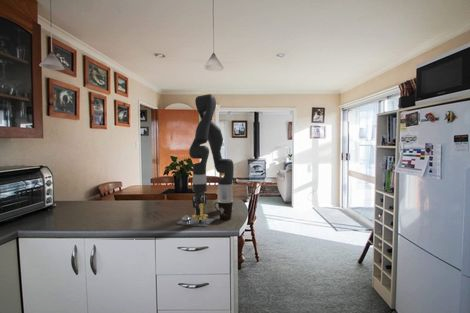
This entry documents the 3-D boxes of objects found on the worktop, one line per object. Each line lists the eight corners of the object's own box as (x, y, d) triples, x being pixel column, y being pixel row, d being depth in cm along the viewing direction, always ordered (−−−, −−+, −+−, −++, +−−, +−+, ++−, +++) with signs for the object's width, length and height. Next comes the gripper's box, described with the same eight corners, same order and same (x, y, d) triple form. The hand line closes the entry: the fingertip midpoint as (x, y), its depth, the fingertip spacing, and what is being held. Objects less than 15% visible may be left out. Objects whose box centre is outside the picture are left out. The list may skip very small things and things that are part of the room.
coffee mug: (235, 219, 157) (235, 201, 157) (222, 221, 153) (222, 203, 152) (226, 215, 167) (226, 198, 167) (213, 216, 163) (213, 200, 162)
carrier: (187, 218, 160) (187, 209, 159) (214, 220, 154) (214, 211, 154) (176, 224, 148) (176, 214, 148) (205, 226, 143) (205, 217, 143)
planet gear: (196, 215, 156) (196, 201, 155) (210, 216, 153) (210, 202, 153) (189, 219, 148) (189, 204, 147) (203, 220, 145) (203, 205, 145)
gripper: (199, 180, 158) (199, 210, 158) (187, 184, 144) (187, 216, 145) (211, 181, 155) (211, 211, 156) (200, 184, 142) (200, 217, 142)
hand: (200, 213), depth 150 cm, fingers closed on planet gear, 4 cm apart
